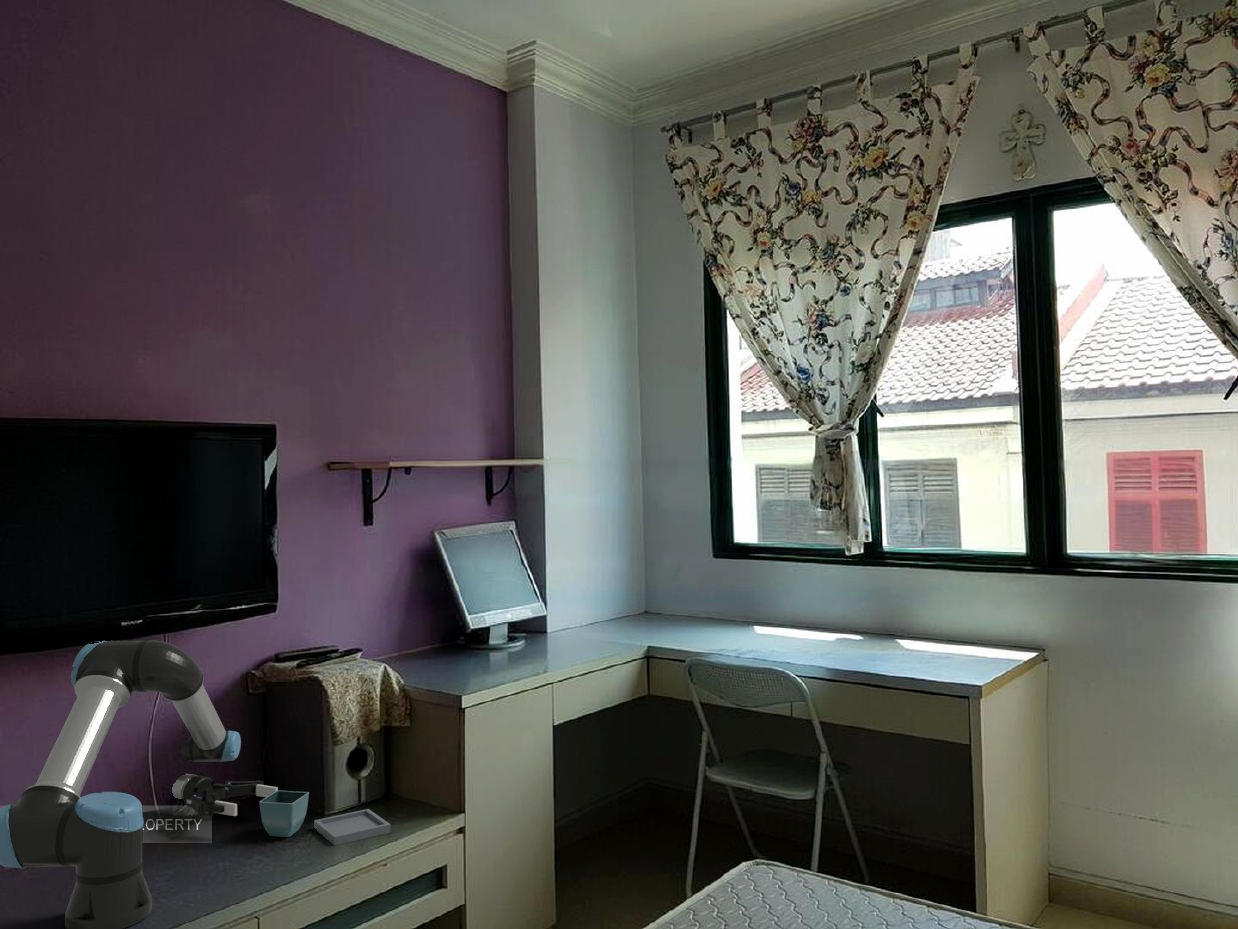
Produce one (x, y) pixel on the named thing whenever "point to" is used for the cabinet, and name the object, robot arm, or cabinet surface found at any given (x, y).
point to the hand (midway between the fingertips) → (257, 801)
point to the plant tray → (352, 826)
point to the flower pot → (283, 812)
